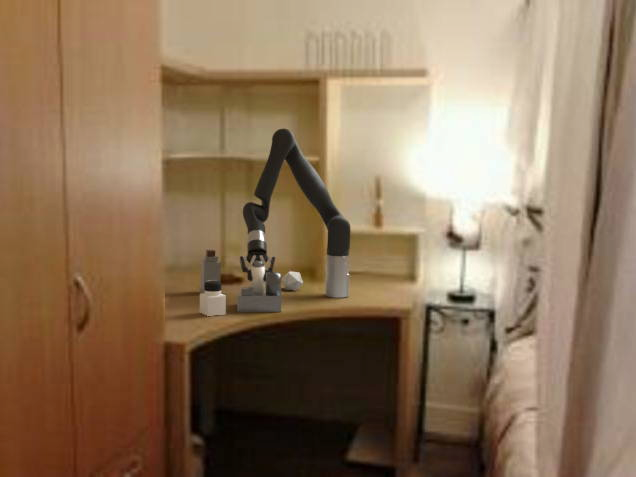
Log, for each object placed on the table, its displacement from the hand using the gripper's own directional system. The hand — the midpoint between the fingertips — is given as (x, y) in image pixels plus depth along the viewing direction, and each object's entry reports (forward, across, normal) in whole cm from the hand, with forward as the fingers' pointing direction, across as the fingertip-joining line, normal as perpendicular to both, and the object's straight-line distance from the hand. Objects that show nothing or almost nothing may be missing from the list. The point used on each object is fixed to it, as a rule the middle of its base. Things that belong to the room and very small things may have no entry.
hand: (258, 280), depth 246 cm
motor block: (+8, 0, +6) cm, 10 cm away
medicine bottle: (+15, -17, 0) cm, 22 cm away
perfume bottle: (-11, -18, +26) cm, 33 cm away
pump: (+2, 0, +5) cm, 5 cm away
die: (-16, +17, +31) cm, 39 cm away
